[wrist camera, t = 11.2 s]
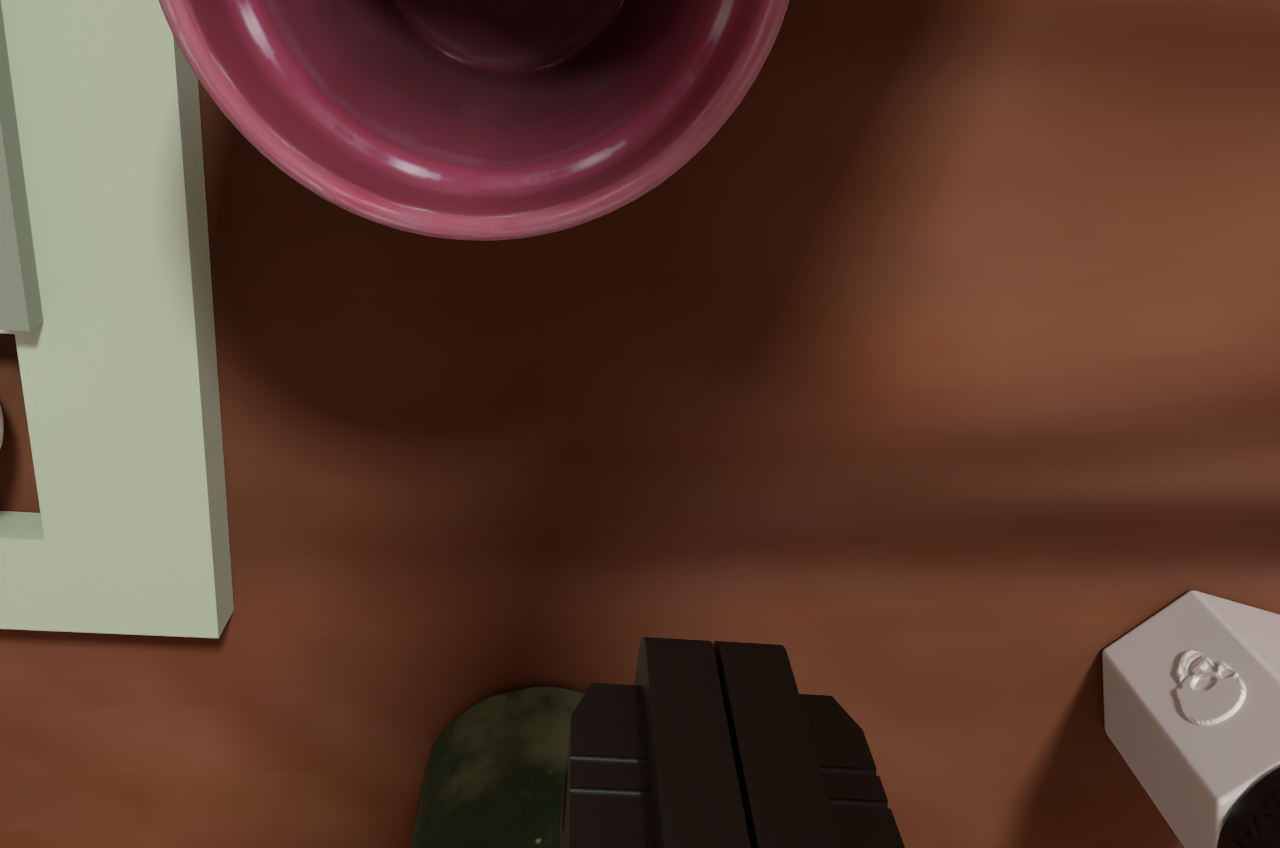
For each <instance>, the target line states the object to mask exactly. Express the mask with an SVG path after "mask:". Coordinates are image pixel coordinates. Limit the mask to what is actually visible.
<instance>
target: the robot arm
mask: <svg viewBox="0 0 1280 848" xmlns="http://www.w3.org/2000/svg"><path fill="white" fill-rule="evenodd" d="M887 803H888V800H887V797H886V794H885V791H884V788H883V786H882V783H881V780H880V777H879V776H876V766H875V763H874V760H873V758H872V755H871V752H870V749H869V746H868V744H867V741H866V738H865V735H864V732H863V730H862V729H861V728H860V727H859V725H858V724H857V723H856V722H855V721H854V720H853V719H852V718H851V717H850V716H849V715H848V713H847V712H846V711H845V710H844V709H843V708H842V707H841V706H840V705H839V704H838V703H837V701H836V700H835V699H834V698H833V697H832V696H824V695H806V694H799V693H798V689H797V686H796V682H795V679H794V675H793V672H792V669H791V665H790V662H789V658H788V655H787V652H786V649H785V648H784V646H783V645H773V644H756V643H739V642H722V641H715V642H713V644H712V643H711V641H701V640H684V639H667V638H650V637H643V638H642V640H641V643H640V648H639V655H638V663H637V670H636V678H635V685H619V684H601V683H591V685H590V687H589V688H588V690H587V691H586V693H585V694H584V696H583V697H582V699H581V701H580V702H579V704H578V705H577V707H576V708H575V710H574V711H573V713H572V714H571V721H570V732H569V742H568V752H567V762H566V772H565V782H564V792H563V802H562V813H561V823H560V848H905V847H904V844H903V841H902V839H901V836H900V833H899V830H898V827H897V825H896V822H895V819H894V816H893V814H892V811H891V809H888V805H887Z"/></svg>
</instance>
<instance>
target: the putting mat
mask: <svg viewBox="0 0 1280 848" xmlns="http://www.w3.org/2000/svg"><path fill="white" fill-rule="evenodd" d="M0 333H5V334H15V339H16V346H17V353H18V360H19V367H20V374H21V381H22V388H23V395H24V402H25V408H26V415H27V422H28V429H29V436H30V443H31V450H32V457H33V464H34V471H35V478H36V484H37V491H38V498H39V505H40V512H41V513H31V512H12V511H0V629H15V630H38V631H61V632H84V633H107V634H130V635H153V636H176V637H199V638H219V637H220V635H221V633H222V631H223V629H224V627H225V626H226V624H227V622H228V620H229V618H230V616H231V614H232V612H233V610H234V605H233V590H232V575H231V561H230V546H229V531H228V516H227V502H226V487H225V472H224V458H223V443H222V428H221V413H220V399H219V384H218V369H217V355H216V340H215V325H214V310H213V296H212V281H211V266H210V252H209V237H208V222H207V207H206V193H205V178H204V163H203V149H202V134H201V119H200V104H199V90H198V78H197V76H196V75H195V73H194V72H193V70H192V69H191V67H190V65H189V64H188V62H187V60H186V59H185V57H184V55H183V54H182V52H181V50H180V48H179V46H178V44H177V42H176V40H175V38H174V36H173V33H172V31H171V29H170V27H169V25H168V23H167V20H166V18H165V15H164V13H163V11H162V8H161V6H160V3H159V1H158V0H0Z"/></svg>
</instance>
